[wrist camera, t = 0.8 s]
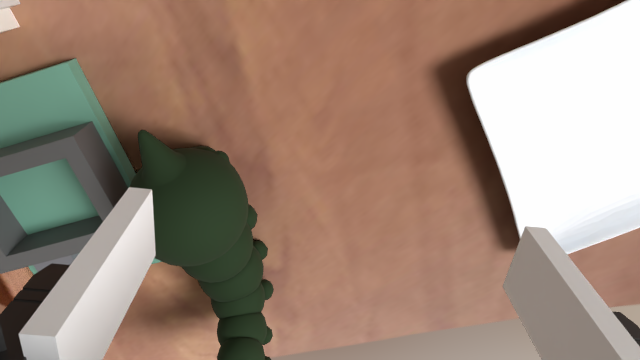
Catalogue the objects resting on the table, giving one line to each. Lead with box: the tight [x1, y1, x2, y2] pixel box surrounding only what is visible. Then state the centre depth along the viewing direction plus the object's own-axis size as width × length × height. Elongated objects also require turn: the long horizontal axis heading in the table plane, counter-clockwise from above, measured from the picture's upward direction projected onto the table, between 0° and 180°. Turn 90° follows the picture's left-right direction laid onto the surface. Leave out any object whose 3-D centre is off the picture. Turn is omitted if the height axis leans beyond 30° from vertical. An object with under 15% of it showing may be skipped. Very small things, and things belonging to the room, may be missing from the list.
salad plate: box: [466, 0, 640, 254], centre depth 40 cm, size 21×21×3 cm
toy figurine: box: [129, 130, 274, 360], centre depth 38 cm, size 9×19×25 cm
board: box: [0, 58, 162, 274], centre depth 42 cm, size 20×14×5 cm
